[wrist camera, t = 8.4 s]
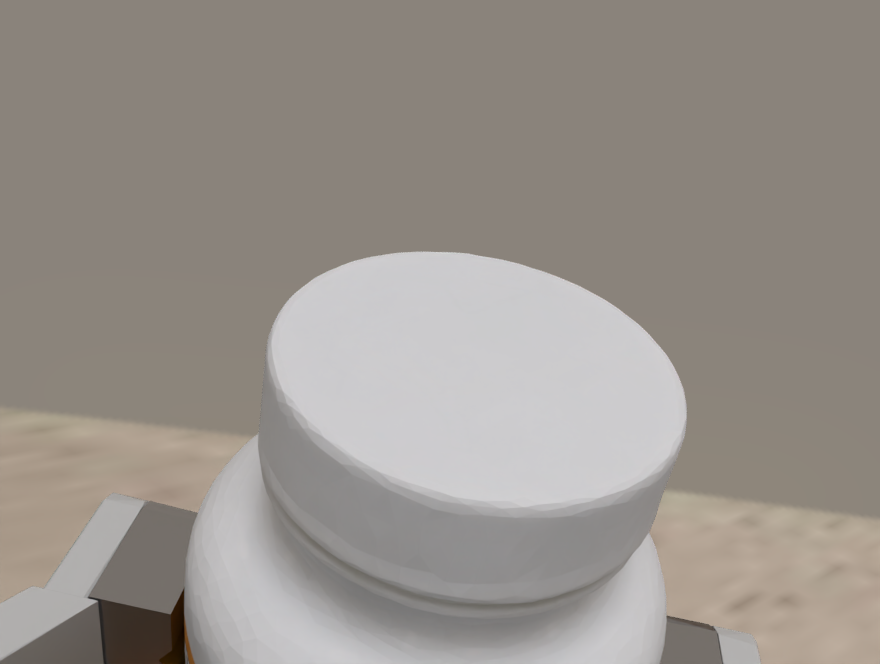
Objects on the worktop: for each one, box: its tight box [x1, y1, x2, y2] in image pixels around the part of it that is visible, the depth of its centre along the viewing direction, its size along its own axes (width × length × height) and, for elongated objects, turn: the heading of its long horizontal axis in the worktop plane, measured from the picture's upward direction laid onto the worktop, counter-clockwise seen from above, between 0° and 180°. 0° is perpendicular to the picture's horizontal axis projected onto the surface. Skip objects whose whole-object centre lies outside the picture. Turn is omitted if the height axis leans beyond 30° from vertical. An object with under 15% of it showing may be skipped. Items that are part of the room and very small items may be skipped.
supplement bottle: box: [184, 252, 687, 664], centre depth 11 cm, size 5×5×10 cm
